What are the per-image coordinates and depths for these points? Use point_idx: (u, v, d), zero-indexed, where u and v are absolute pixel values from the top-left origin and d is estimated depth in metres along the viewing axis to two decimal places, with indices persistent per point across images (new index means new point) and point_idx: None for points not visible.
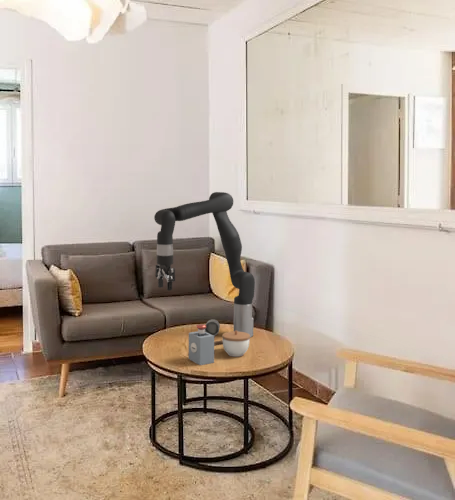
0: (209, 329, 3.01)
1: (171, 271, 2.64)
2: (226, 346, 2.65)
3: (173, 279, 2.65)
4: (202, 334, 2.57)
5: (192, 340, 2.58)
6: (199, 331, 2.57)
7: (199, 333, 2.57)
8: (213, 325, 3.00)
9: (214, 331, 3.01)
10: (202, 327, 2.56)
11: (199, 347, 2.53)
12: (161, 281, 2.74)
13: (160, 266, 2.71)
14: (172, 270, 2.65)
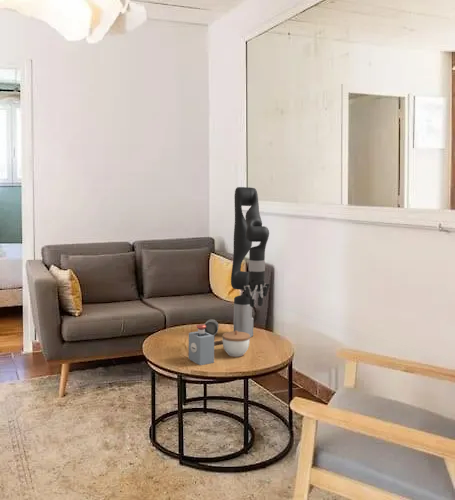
0: (208, 329, 3.01)
1: None
2: (226, 346, 2.65)
3: None
4: (202, 334, 2.57)
5: (192, 340, 2.58)
6: (199, 331, 2.57)
7: (199, 333, 2.57)
8: (211, 325, 3.00)
9: (213, 331, 3.01)
10: (202, 327, 2.56)
11: (199, 347, 2.53)
12: None
13: (253, 282, 2.70)
14: None
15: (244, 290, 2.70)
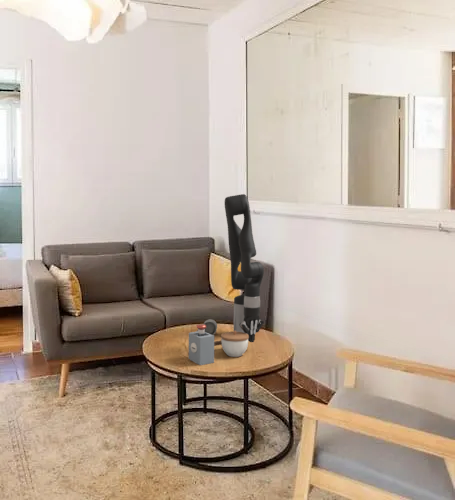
0: (206, 329, 3.01)
1: None
2: (225, 346, 2.65)
3: None
4: (202, 334, 2.57)
5: (192, 340, 2.58)
6: (199, 331, 2.57)
7: (199, 333, 2.57)
8: (210, 325, 3.00)
9: (211, 331, 3.01)
10: (202, 327, 2.56)
11: (199, 347, 2.53)
12: None
13: (248, 318, 2.70)
14: None
15: (241, 327, 2.71)
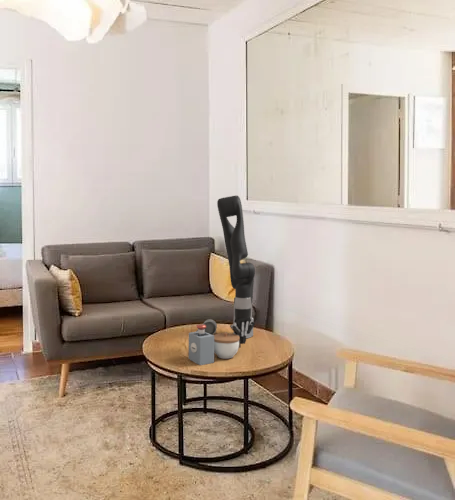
0: (206, 329, 3.01)
1: None
2: (215, 348, 2.62)
3: (247, 330, 2.73)
4: (202, 334, 2.57)
5: (192, 340, 2.58)
6: (199, 331, 2.57)
7: (199, 333, 2.57)
8: (210, 325, 3.00)
9: (211, 331, 3.01)
10: (202, 327, 2.56)
11: (199, 347, 2.53)
12: None
13: (239, 320, 2.67)
14: None
15: (232, 329, 2.68)
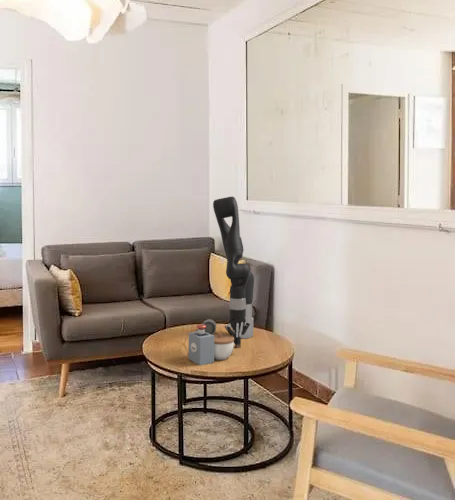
0: (205, 329, 3.01)
1: None
2: None
3: (242, 331, 2.71)
4: (202, 334, 2.57)
5: (192, 340, 2.58)
6: (199, 331, 2.57)
7: (199, 333, 2.57)
8: (209, 325, 3.00)
9: (210, 331, 3.01)
10: (202, 327, 2.56)
11: (199, 347, 2.53)
12: None
13: (233, 320, 2.66)
14: None
15: None
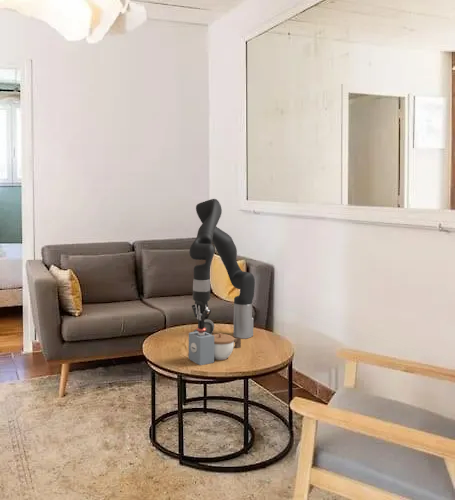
0: None
1: None
2: None
3: None
4: None
5: (192, 340, 2.58)
6: (199, 334, 2.57)
7: (199, 336, 2.57)
8: (207, 325, 3.00)
9: (208, 331, 3.01)
10: (202, 330, 2.56)
11: (199, 347, 2.53)
12: None
13: None
14: None
15: (205, 314, 2.52)
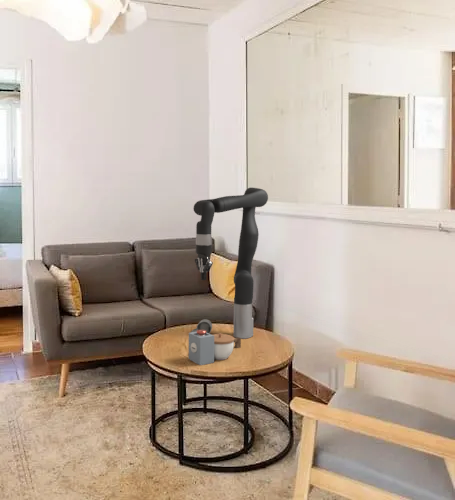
0: (201, 329, 3.01)
1: None
2: None
3: None
4: None
5: (192, 340, 2.58)
6: None
7: None
8: (205, 325, 3.00)
9: (206, 331, 3.01)
10: (202, 333, 2.56)
11: (199, 347, 2.53)
12: None
13: None
14: None
15: (207, 266, 2.73)
